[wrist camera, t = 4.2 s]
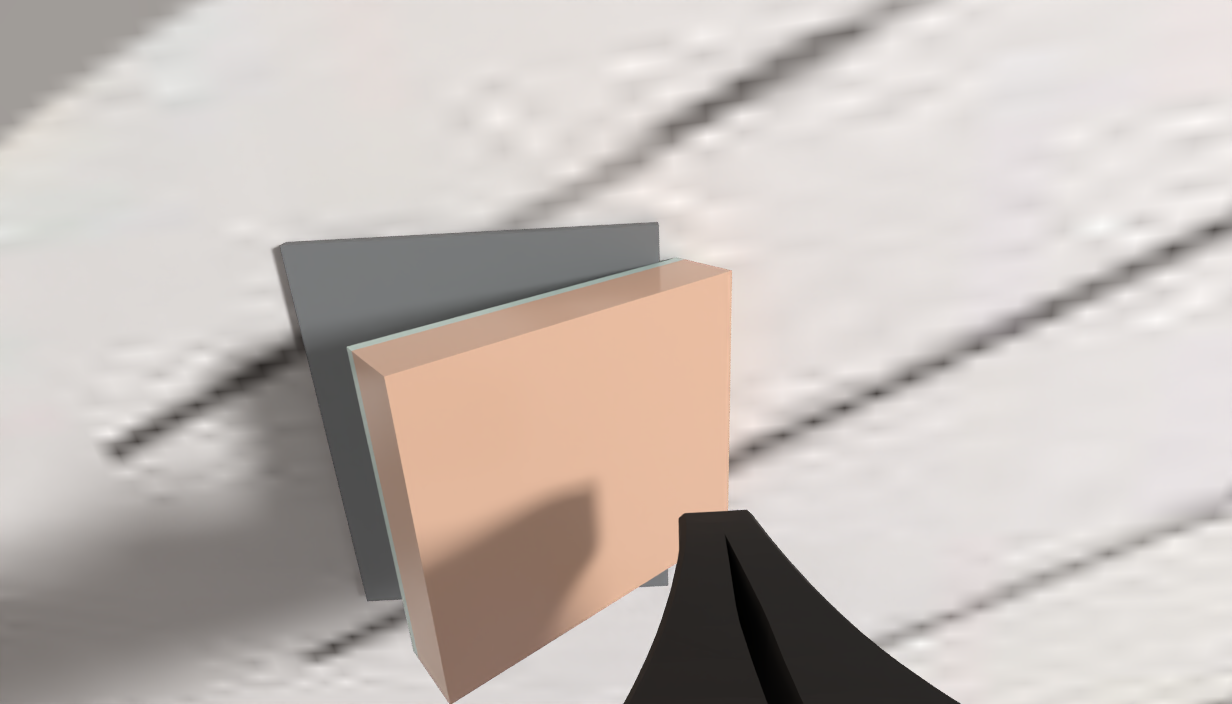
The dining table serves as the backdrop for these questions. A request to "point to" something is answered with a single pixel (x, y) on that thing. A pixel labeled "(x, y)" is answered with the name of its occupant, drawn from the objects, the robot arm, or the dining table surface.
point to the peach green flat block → (545, 456)
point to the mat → (414, 297)
